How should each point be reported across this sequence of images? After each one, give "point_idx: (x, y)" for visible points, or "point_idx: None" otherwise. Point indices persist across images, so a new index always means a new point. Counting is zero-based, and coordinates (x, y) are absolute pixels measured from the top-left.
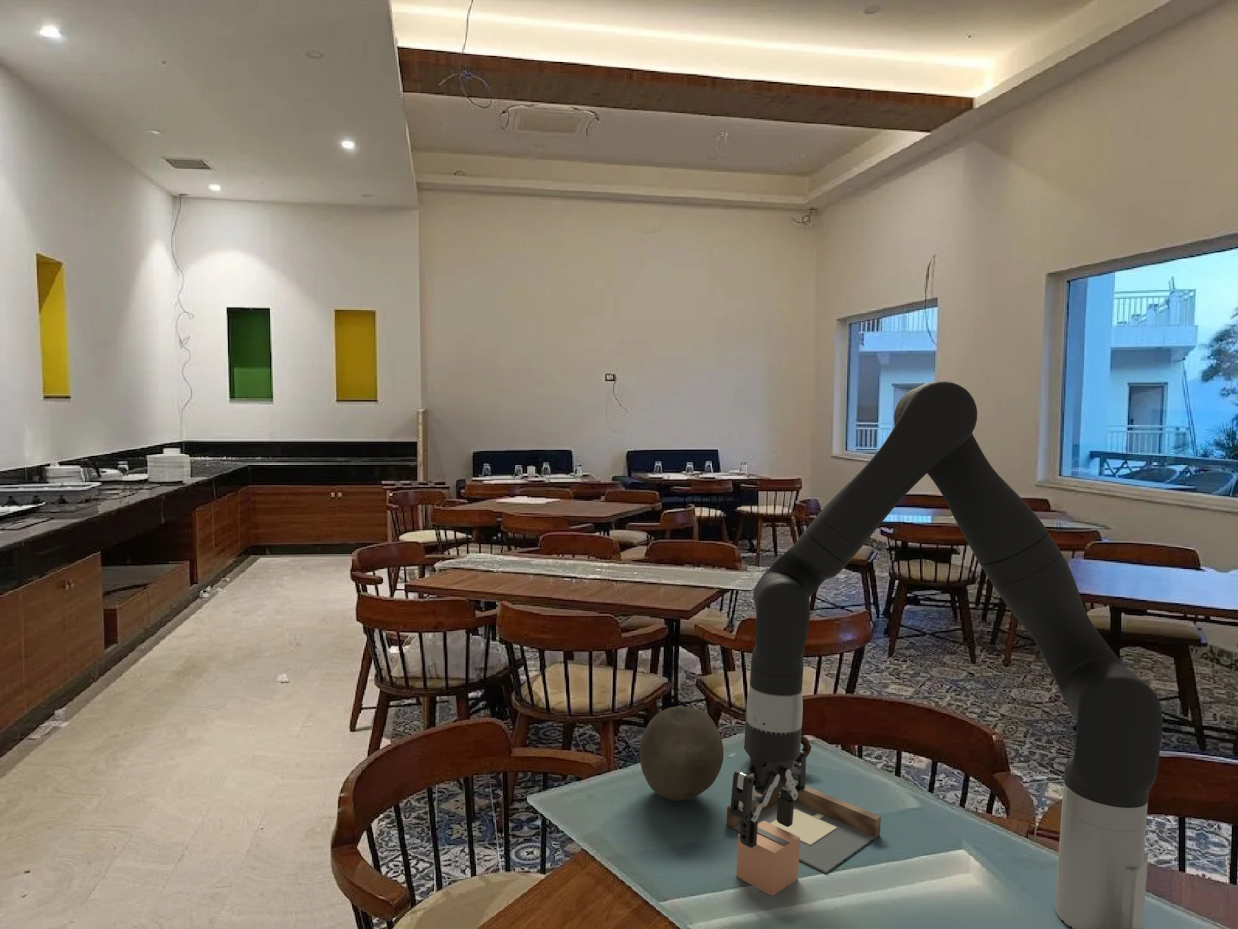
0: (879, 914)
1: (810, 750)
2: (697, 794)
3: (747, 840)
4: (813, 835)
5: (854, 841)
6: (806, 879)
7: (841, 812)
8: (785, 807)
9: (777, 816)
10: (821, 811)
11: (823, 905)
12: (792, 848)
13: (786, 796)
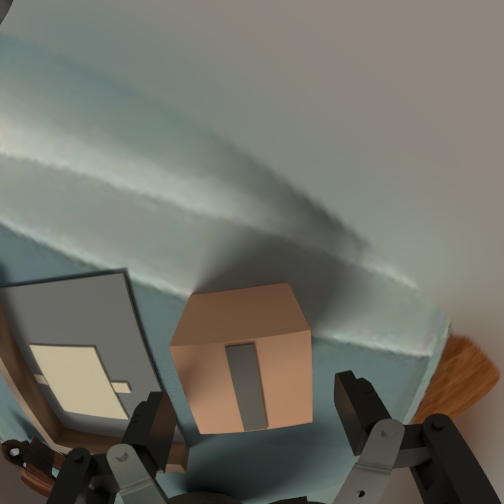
0: (143, 111)
1: (4, 442)
2: (201, 495)
3: (371, 386)
4: (72, 359)
5: (24, 303)
6: (175, 283)
7: (10, 357)
8: (158, 439)
9: (173, 428)
10: (32, 381)
11: (218, 196)
12: (211, 332)
13: (147, 466)
